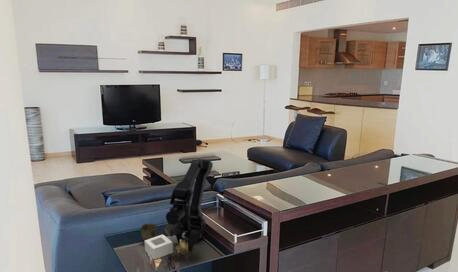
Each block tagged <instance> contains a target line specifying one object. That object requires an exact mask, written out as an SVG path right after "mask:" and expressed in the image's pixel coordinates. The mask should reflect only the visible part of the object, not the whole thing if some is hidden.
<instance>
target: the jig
mask: <svg viewBox="0 0 458 272" xmlns="http://www.w3.org/2000/svg"><path fill="white" fill-rule="evenodd" d="M143 241H144V251H145V252H146V254H148V256H149V257H150V258H151V259H152V260H154V259H155V260H157V258H158V259H160V258H163V257H165V256H167V255H170V254H173V253H174V246H173V241H172V240H171V239H170V238H168V237H167V236H166V235H164V234H160V235H156V237H154V238H151V239H148V240H143Z"/></svg>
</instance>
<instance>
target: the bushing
mask: <svg viewBox="0 0 458 272" xmlns="http://www.w3.org/2000/svg"><path fill="white" fill-rule="evenodd" d="M179 253H180V254H182V255H187V254H189V253H190V252H189V251H188V245H187V242H186V241H185V238H184V236H182V238H180V243H179Z"/></svg>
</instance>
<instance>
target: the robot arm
mask: <svg viewBox="0 0 458 272" xmlns="http://www.w3.org/2000/svg"><path fill="white" fill-rule="evenodd" d="M213 164H214V163H213V162H212V160H211V159H205V158H197V159H191V161H190V165H189V167H188V169H187V171H186V174H185V175H184V177H183V179H182V180H180V182H177V184H176V185H175V186H174V188H173V190H172V193H171V198H170V201H169V205H171V206H172V207H169V211H168V212H167V213H166V214H165V219H166V222H167V224H166V225H165V226H164V227H163V228H164V229H163V230H164V231H165V233H166V235H168V236H169V237H170V238H171V237H174V236H175V239H176V242H177V244H180V238H182V237H184V238H185V241H186V242H187V245H188V251H189V253H191V252H192V251H193V249H194V247H195V245H196V243H197V242H200V241H201V240H205V236H203V229H205V228H206V220H205V218H204V217H203V216H204V215H203V214H204V213H203V210H202V201H203V196H204V191H205V186H206V185H205V184H206V180H207V177H209V175H210V174H211V171H212V169H213ZM193 185H194V187H193ZM183 234H184V235H183Z"/></svg>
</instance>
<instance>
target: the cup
mask: <svg viewBox="0 0 458 272" xmlns="http://www.w3.org/2000/svg"><path fill="white" fill-rule="evenodd" d="M157 228H158V226H157V224H155V223H152V222H150V223H149V222H148V223H144V224H141V227H139V229H140V233H141V238H142V239H143V241H145V240H148V239H151V238H154V237H157V231H158V230H157Z"/></svg>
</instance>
